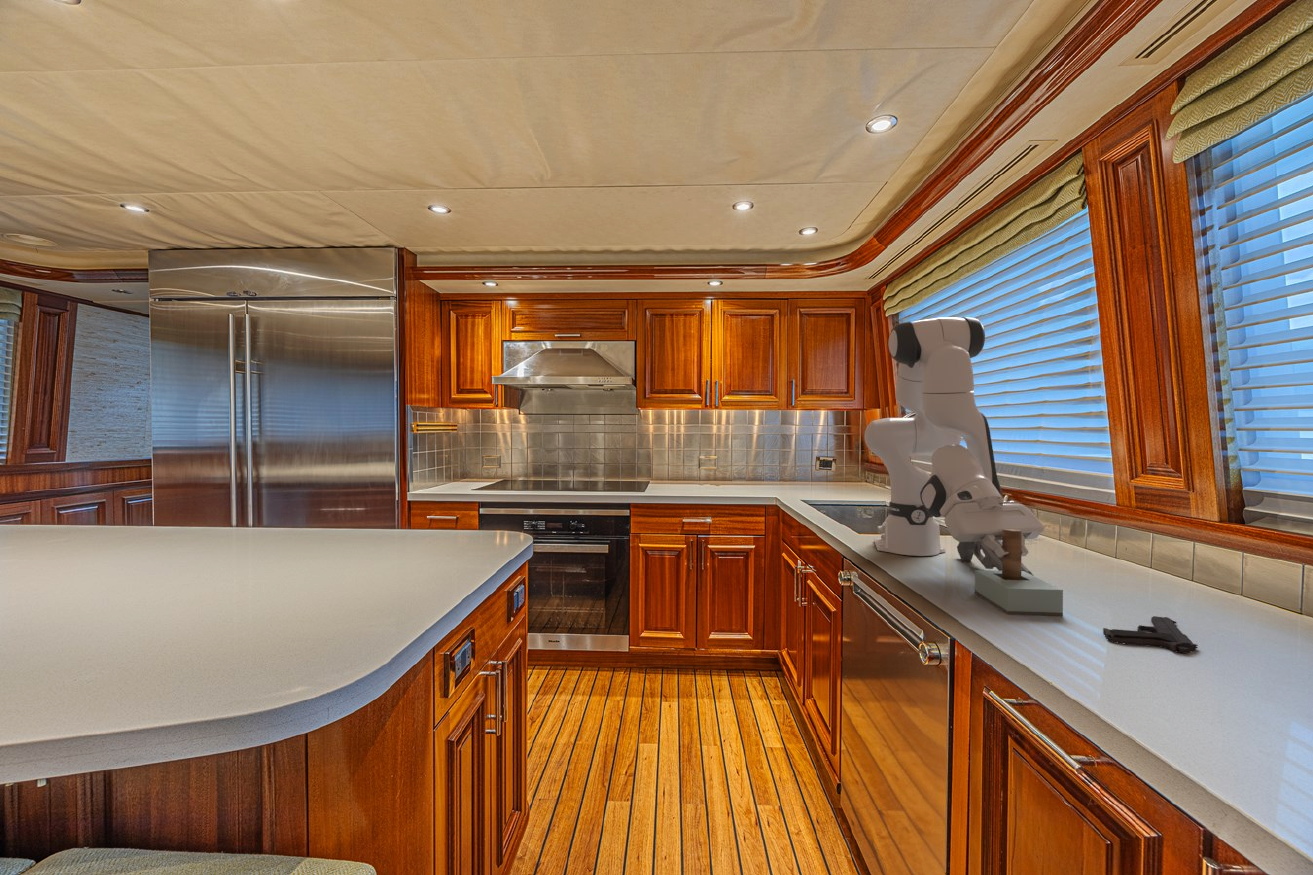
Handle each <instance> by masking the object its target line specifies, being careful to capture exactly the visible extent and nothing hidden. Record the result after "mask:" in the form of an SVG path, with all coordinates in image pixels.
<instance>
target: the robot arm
mask: <svg viewBox="0 0 1313 875" xmlns="http://www.w3.org/2000/svg"><path fill="white" fill-rule="evenodd" d="M889 333H890V334H889V337H888V343H887V344H888V350H889V354H890V357H891V358H892V359H893V360H894V361H895V362H897V363H898V370H897V376H896V377H897V378H896V388H895V400H896V401H897V403H898V405H900V407H902V408H904V409H906V410H908V411H911V412H912V413H914V414H915V415H914V416H913V417H886V418H880V419H875V420H872V421H870V422H869V424H868V425H867V427H866V429H865V431H864V442H865V445H866V447H867V448H868V449H869V451H871V453H872V454H874V455H875V456H877V457H878V458H879V460H881V462H882V463H883V464H884V466H885V468H886V469H887V473H888V475H889V476H888V477H889V484H890V501H889V505H888V508H887V509H888V511H887V512H888V516H887V517H886V518H885V520H884V522H882V524H881V525H877V534H881V536H880V537H876V538H874V539H873V540H874V541H873V542H874V544H875V547H876V549H877V550H876V551H879V552H887V553H892V554H897V555H903V556H904V555H905V556H914V557H915V556H916V557H926V556H927V557H930V556H936V555H938V554H941V553H946V548H945V547H942V546H941V534H940V525H939V522H937V521H936V520H935V518H937V519H938V518H940V519H941V518H942V519H944V524H945V526H946V528H947V530H948V532H949V534H950V536H951V538H953V540H955V541H957V542H958V543H959V542H974V541H983V542H984V544H985V545H986V546H987V547H989V548H990V549H992V550H993V551H994V552H995V553H996V555H997V556H998V557H1006V556H1007V555H1008V554H1009V552H1008V550H1007V549H1006V548H1005V546H1001V545H1000V544H998V543H997V542H996V541H997V540H1001V541H1002V529H1016V530H1021V531H1022V555H1021V557H1027V555H1029V549H1028V548H1027V546H1026V542H1025V541H1026V540H1035V539H1037V538H1038V537H1039V536H1040V535H1041V534H1043V532H1044V530H1045V529H1044V528H1045V527H1044V525H1043V523H1042V522H1041V521H1040V520H1039V519H1038V517H1037V516H1036V515H1035V514H1034V513H1033V512H1032V511H1031V510H1030V508H1028V507H1027V506H1026V505H1024V503H1023V504H1022V503H1019V502H1017V501H1016V500H1008V501H1006V500H1004V498H1003V497H1004V496H1003V490H1002V488H1001V485H1000V481H999V478H998V473H997V469H996V463H995V456H994V448H993V442H992V436H991V431H990V425H989V421H988V419H987V417H986V416H985V414H984V413H982V412H981V411H980V410H979V408H978V407H977V403H976V400H975V392H974V391H975V388H974V387H975V385H974V381H975V380H974V372H973V366H972V360H971V359H972V358H976V357H977V356H978V355H979V354H980V353H981V352H982V350H983V348H984V346H985V340H986V330H985V328H984V325H983V324H982V322H981V321H980V320H979V319H977V318H975V317H968V316H962V317H935V318H928V319H921V320H916V321H910V320H909V321H904V322H900V323H897V324H896V325H894V326H893V328H892V329H891V330H890V332H889ZM962 439H963V440H964V442H965V443H966V444H965V445H966V447H965V446H963V445H961V441H962ZM911 456H931V459H930V462H931V471H930V473H928V472H927V471H926V470H924V469H923V468H920V467H919V466H917V465H914V464H912V461H911Z"/></svg>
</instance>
